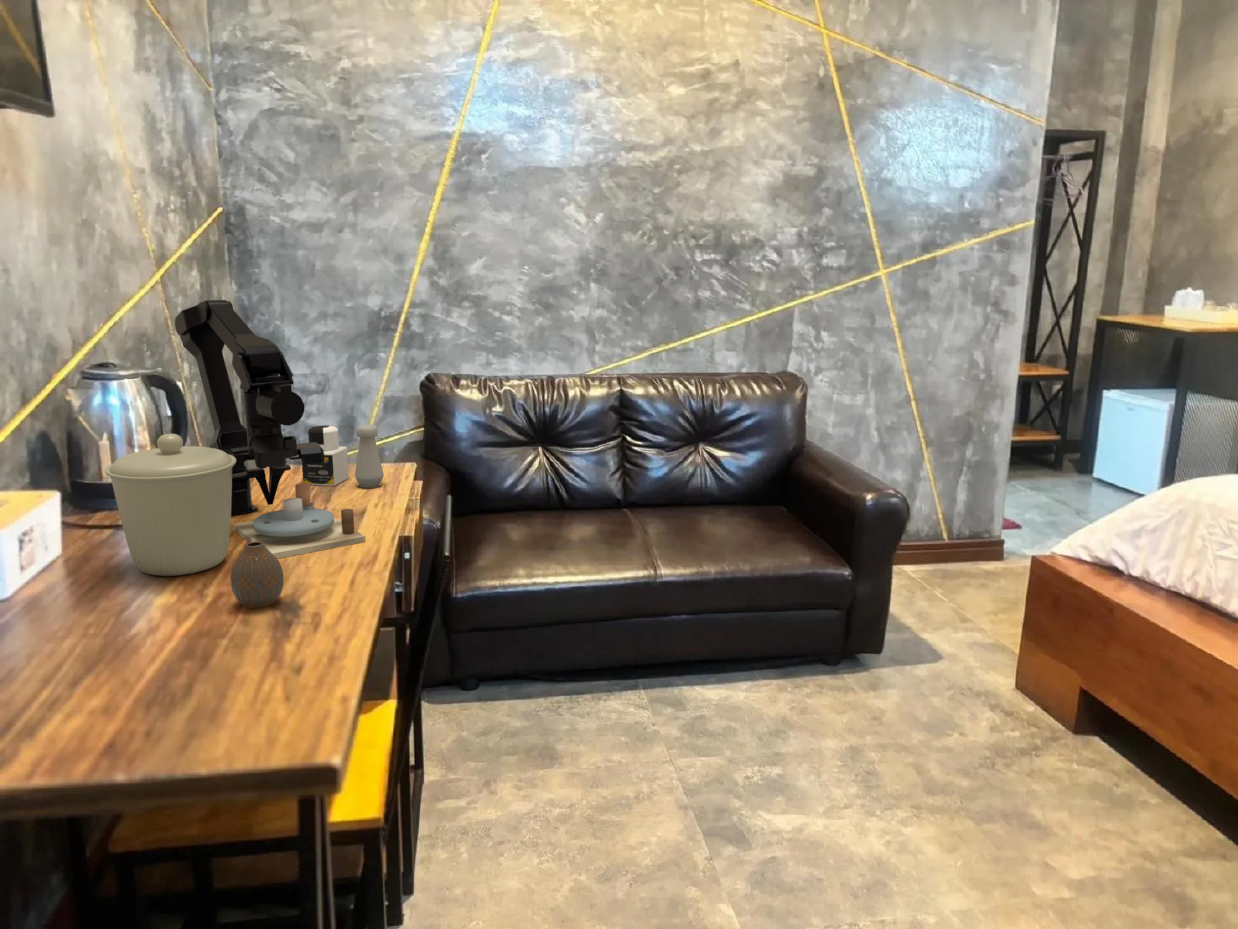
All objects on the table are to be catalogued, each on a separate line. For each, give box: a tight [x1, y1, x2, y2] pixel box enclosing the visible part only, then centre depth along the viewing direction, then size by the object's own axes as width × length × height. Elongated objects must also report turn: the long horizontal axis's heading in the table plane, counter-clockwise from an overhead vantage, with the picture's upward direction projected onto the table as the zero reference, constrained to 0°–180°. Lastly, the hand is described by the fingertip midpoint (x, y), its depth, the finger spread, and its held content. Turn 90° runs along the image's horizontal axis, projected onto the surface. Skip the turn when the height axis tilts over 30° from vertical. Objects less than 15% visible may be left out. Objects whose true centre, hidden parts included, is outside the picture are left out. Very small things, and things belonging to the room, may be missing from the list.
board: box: [232, 508, 366, 559], centre depth 157 cm, size 20×16×5 cm
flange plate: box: [253, 482, 335, 537], centre depth 156 cm, size 16×13×5 cm
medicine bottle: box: [301, 425, 350, 487], centre depth 194 cm, size 7×7×12 cm
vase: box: [230, 541, 285, 609], centre depth 127 cm, size 7×7×9 cm
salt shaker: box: [354, 424, 385, 489], centre depth 190 cm, size 6×6×13 cm
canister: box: [104, 433, 236, 577], centre depth 140 cm, size 18×18×21 cm
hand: (270, 504), depth 161 cm, fingers closed
